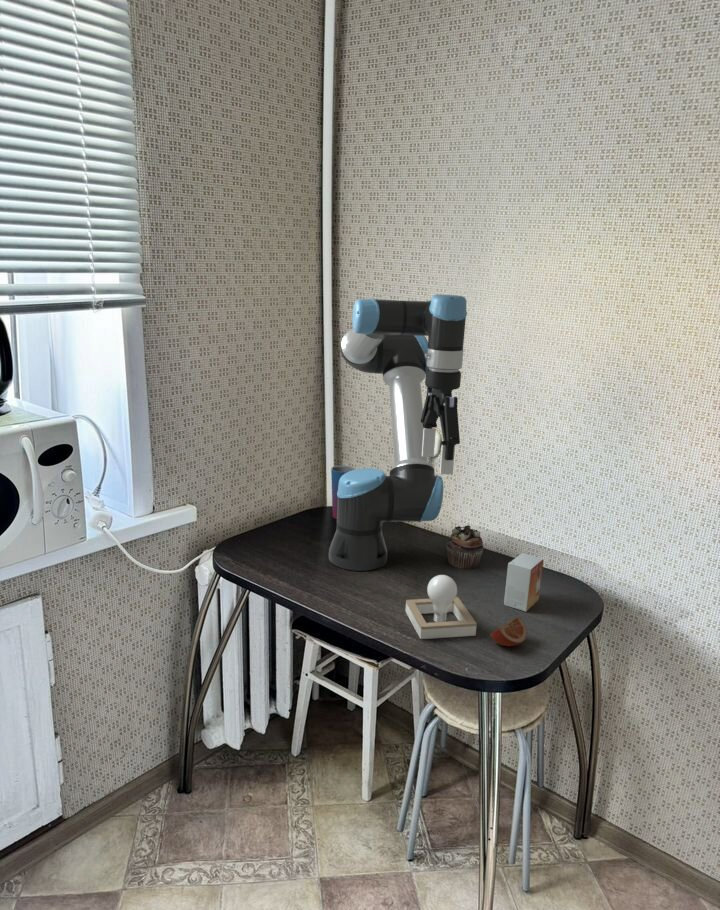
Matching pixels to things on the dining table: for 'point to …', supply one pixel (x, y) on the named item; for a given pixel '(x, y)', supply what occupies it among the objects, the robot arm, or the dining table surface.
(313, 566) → the dining table surface
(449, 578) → the lightbulb
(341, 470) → the cup
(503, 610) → the dining table surface
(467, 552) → the cupcake
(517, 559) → the small box
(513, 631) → the fruit slice
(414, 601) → the square frame
